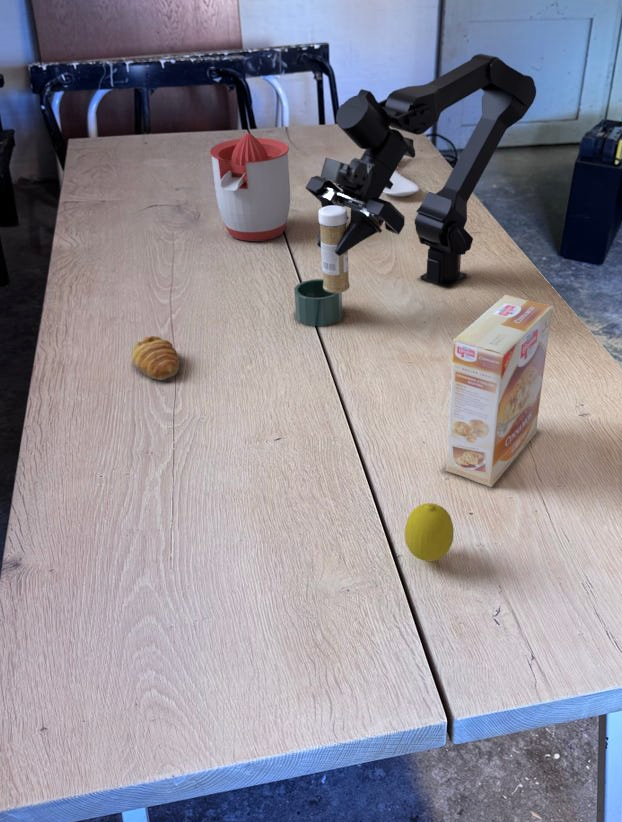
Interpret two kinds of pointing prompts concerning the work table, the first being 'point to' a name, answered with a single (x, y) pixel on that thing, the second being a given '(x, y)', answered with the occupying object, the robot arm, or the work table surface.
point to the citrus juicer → (252, 186)
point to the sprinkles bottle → (333, 249)
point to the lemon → (429, 532)
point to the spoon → (401, 186)
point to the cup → (317, 304)
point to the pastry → (155, 358)
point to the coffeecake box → (496, 388)
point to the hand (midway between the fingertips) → (328, 250)
